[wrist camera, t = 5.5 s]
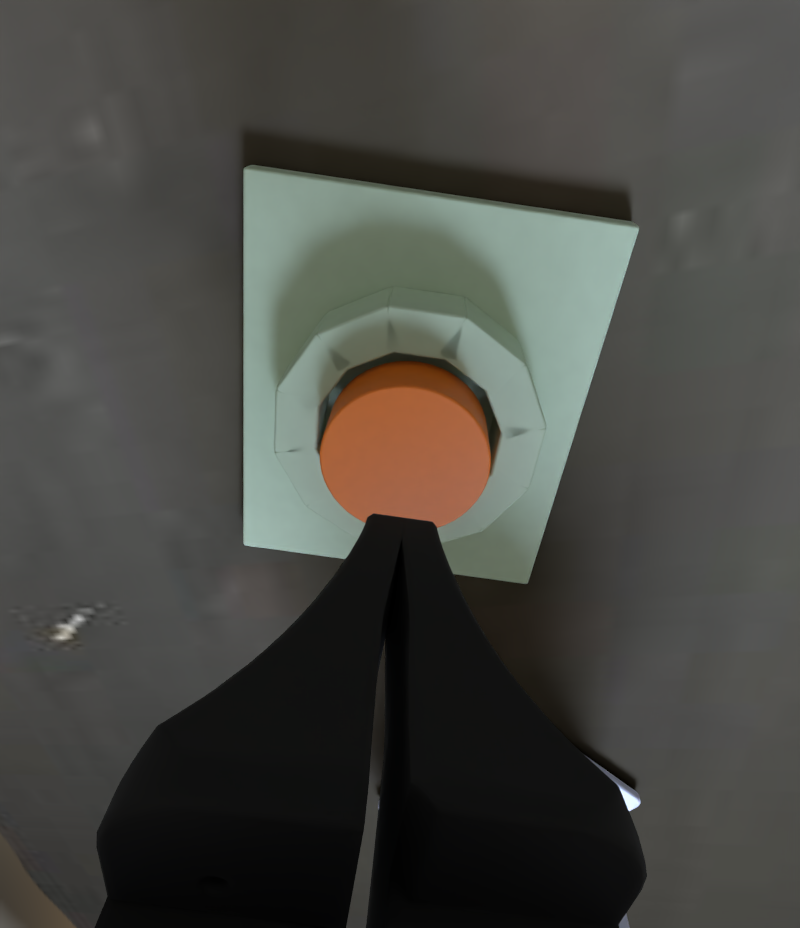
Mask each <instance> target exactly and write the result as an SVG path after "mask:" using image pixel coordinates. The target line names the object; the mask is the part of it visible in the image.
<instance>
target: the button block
mask: <svg viewBox="0 0 800 928" xmlns="http://www.w3.org/2000/svg"><path fill="white" fill-rule="evenodd" d="M638 231H639V226H637V225H636V224H635V223H633V222H632V221H625V220H619V219H612V218H605V217H599V216H592V215H585V214H579V213H572V212H565V211H559V210H552V209H545V208H539V207H532V206H525V205H519V204H512V203H505V202H499V201H492V200H485V199H478V198H472V197H465V196H458V195H452V194H445V193H438V192H432V191H425V190H418V189H412V188H405V187H398V186H392V185H385V184H378V183H372V182H365V181H358V180H352V179H345V178H338V177H332V176H325V175H318V174H312V173H305V172H298V171H291V170H285V169H278V168H271V167H265V166H258V165H249V166H247V167H244V169H243V544H244V545H246V546H254V547H261V548H268V549H275V550H283V551H290V552H297V553H304V554H312V555H319V556H326V557H333V558H341V559H346V558H347V556H348V555H349V553H350V552H351V550H352V548H353V547H354V545H355V543H356V541H357V540H358V538H359V536H360V534H361V532H362V530H363V528H364V526H365V523H364V522H362V521H361V520H359V519H357V518H355V517H354V516H353V515H351V514H350V513H348V512H347V511H346V510H345V509H344V508H343V507H342V506H341V505H340V504H339V503H338V502H337V501H336V500H335V498H334V497H333V496H332V494H331V492H330V491H329V489H328V487H327V485H326V483H325V481H324V478H323V475H322V472H321V466H320V446H321V441H322V437H323V434H324V431H325V428H326V425H327V422H328V419H329V416H330V414H331V411H332V408H333V405H334V403H335V401H336V399H337V397H338V396H339V394H340V393H341V391H342V390H343V389H344V388H345V387H346V385H347V384H348V383H349V382H350V381H352V380H353V379H354V378H355V377H357V376H358V375H360V374H361V373H363V372H364V371H366V370H368V369H371V368H373V367H375V366H378V365H381V364H385V363H389V362H395V361H417V362H423V363H428V364H431V365H434V366H437V367H440V368H442V369H444V370H446V371H448V372H450V373H452V374H453V375H455V376H456V377H458V378H459V379H460V380H462V381H463V382H464V383H465V384H466V385H467V386H468V387H469V388H470V389H471V390H472V392H473V393H474V394H475V396H476V397H477V399H478V400H479V402H480V404H481V406H482V409H483V411H484V414H485V418H486V423H487V430H488V437H489V445H490V452H491V469H490V475H489V478H488V481H487V484H486V486H485V488H484V490H483V492H482V494H481V496H480V497H479V499H478V500H477V501H476V503H475V504H474V505H473V506H472V507H471V508H470V509H469V510H468V511H467V512H466V513H464V514H463V515H462V516H460V517H459V518H457V519H456V520H454V521H452V522H450V523H448V524H446V525H444V526H441V527H439V528H437V530H438V534H439V538H440V541H441V544H442V547H443V550H444V553H445V555H446V558H447V560H448V563H449V565H450V568H451V570H452V572H453V574H457V575H464V576H471V577H478V578H486V579H493V580H500V581H507V582H514V583H522V584H527V583H528V581H529V578H530V575H531V572H532V569H533V565H534V562H535V559H536V556H537V553H538V549H539V546H540V543H541V540H542V537H543V534H544V530H545V527H546V524H547V521H548V518H549V514H550V511H551V508H552V505H553V502H554V499H555V495H556V492H557V489H558V486H559V483H560V479H561V476H562V473H563V470H564V467H565V464H566V460H567V457H568V454H569V451H570V448H571V444H572V441H573V438H574V435H575V432H576V429H577V425H578V422H579V419H580V416H581V413H582V409H583V406H584V403H585V400H586V397H587V394H588V390H589V387H590V384H591V381H592V378H593V374H594V371H595V368H596V365H597V362H598V359H599V355H600V352H601V349H602V346H603V343H604V339H605V336H606V333H607V330H608V327H609V324H610V320H611V317H612V314H613V311H614V308H615V304H616V301H617V298H618V295H619V292H620V289H621V285H622V282H623V279H624V276H625V273H626V269H627V266H628V263H629V260H630V257H631V254H632V250H633V247H634V244H635V241H636V238H637V234H638Z"/></svg>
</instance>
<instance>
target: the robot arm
mask: <svg viewBox="0 0 800 928" xmlns="http://www.w3.org/2000/svg"><path fill="white" fill-rule="evenodd" d="M385 636H386V642H385V742H384V760H383V770H382V780H381V790H380V800H379V803H378V809H379V810H378V820H377V829H376V839H375V849H374V859H373V868H372V877H371V887H370V896H369V905H368V915H367V924H366V928H629V923H628V919H627V914H626V913H627V911H628V910H629V908H630V907H631V905H632V904H633V902H634V901H635V899H636V898H637V896H638V894H639V893H640V891H641V890H642V887H643V885H644V882H645V880H646V877H647V873H646V865H645V860H644V856H643V852H642V848H641V844H640V841H639V837H638V834H637V831H636V829H635V826H634V823H633V821H632V818H631V816H630V813H629V811H630V810H632V809H634V808H636V807H638V806H639V805H640V803H641V802H640V797H639V794H638V793H637V792H636V791H635V790H634V789H632V788H631V787H629V786H628V785H626V784H625V783H624V782H622V781H621V780H619V779H618V778H617V777H615V776H614V775H612V774H611V773H609V772H608V771H607V770H605V769H604V768H602V767H601V766H600V765H598V764H597V763H595V762H594V761H592V760H591V759H590V758H588V757H587V756H585V755H584V754H583V753H582V752H581V751H579V750H578V749H577V748H576V747H575V746H574V745H573V744H572V743H571V742H570V741H569V740H568V739H567V738H566V737H565V736H564V735H563V734H562V733H561V732H560V731H559V730H558V729H557V728H556V727H555V726H554V724H553V723H552V722H551V721H550V720H549V719H548V718H547V717H546V716H545V714H544V713H543V712H542V711H541V710H540V709H539V707H538V706H537V705H536V704H535V703H534V701H533V700H532V699H531V698H530V697H529V696H528V694H527V693H526V692H525V691H524V690H523V688H522V687H521V686H520V685H519V684H518V682H517V681H516V679H515V678H514V677H513V675H512V674H511V673H510V671H509V670H508V669H507V667H506V666H505V665H504V663H503V662H502V660H501V659H500V657H499V656H498V654H497V653H496V651H495V650H494V648H493V647H492V645H491V644H490V642H489V641H488V639H487V638H486V636H485V634H484V633H483V631H482V629H481V628H480V626H479V624H478V622H477V620H476V619H475V617H474V615H473V613H472V612H471V610H470V608H469V606H468V604H467V602H466V600H465V598H464V596H463V594H462V592H461V590H460V588H459V586H458V583H457V581H456V579H455V577H454V575H453V572H452V570H451V568H450V565H449V563H448V560H447V558H446V555H445V553H444V550H443V547H442V544H441V541H440V538H439V534H438V530H437V527H436V525H435V524H434V523H433V522H432V521H425V520H417V519H410V518H403V517H396V516H389V515H382V514H375V513H373V514H372V515H370V516H368V517H367V520H366V523H365V526H364V528H363V530H362V532H361V534H360V536H359V538H358V540H357V541H356V543H355V545H354V547H353V548H352V550H351V552H350V553H349V555H348V556H347V558H346V559H345V561H344V562H343V563H342V565H341V566H340V568H339V569H338V571H337V572H336V574H335V575H334V576H333V578H332V579H331V580H330V581H329V583H328V584H327V585H326V586H325V588H324V589H323V590H322V591H321V593H320V594H319V595H318V596H317V598H316V599H315V600H314V601H313V602H312V604H311V605H310V606H309V607H308V608H307V609H306V610H305V611H304V613H303V614H302V615H301V616H300V617H299V618H298V619H297V620H296V621H295V622H294V623H293V624H292V625H291V626H290V627H289V628H288V629H287V630H286V631H285V632H284V633H283V634H282V635H281V636H280V637H279V638H278V639H276V640H275V641H274V642H273V643H272V644H271V645H270V646H269V647H268V648H267V649H266V650H264V651H263V652H262V653H261V654H260V655H259V656H257V657H256V658H255V659H254V660H253V661H252V662H250V663H249V664H248V665H247V666H245V667H244V668H243V669H241V670H240V671H239V672H237V673H236V674H235V675H233V676H232V677H231V678H229V679H228V680H227V681H225V682H224V683H223V684H221V685H220V686H219V687H217V688H216V689H215V690H213V691H212V692H210V693H209V694H207V695H206V696H205V697H203V698H201V699H200V700H198V701H197V702H195V703H193V704H192V705H190V706H189V707H187V708H186V709H184V710H182V711H181V712H179V713H178V714H176V715H174V716H173V717H171V718H170V719H168V720H166V721H165V722H163V723H161V724H160V725H158V726H157V727H156V729H155V730H154V731H153V733H152V734H151V735H150V737H149V738H148V740H147V741H146V742H145V744H144V745H143V747H142V748H141V749H140V751H139V753H138V754H137V756H136V757H135V759H134V760H133V762H132V763H131V765H130V767H129V768H128V770H127V772H126V773H125V775H124V777H123V778H122V780H121V782H120V784H119V786H118V788H117V790H116V792H115V794H114V796H113V798H112V800H111V803H110V805H109V807H108V809H107V811H106V814H105V816H104V818H103V820H102V822H101V824H100V827H99V829H98V831H97V851H98V855H99V860H100V864H101V869H102V873H103V878H104V882H105V887H106V891H107V895H108V897H107V899H106V902H105V904H104V907H103V909H102V911H101V914H100V916H99V919H98V921H97V923H96V926H95V928H346V924H347V918H348V913H349V907H350V902H351V896H352V891H353V885H354V880H355V874H356V869H357V864H358V858H359V853H360V847H361V842H362V836H363V830H364V823H365V814H366V804H367V795H368V785H369V771H370V757H371V744H372V731H373V718H374V707H375V695H376V683H377V673H378V669H379V664H380V660H381V655H382V650H383V646H384V641H385Z"/></svg>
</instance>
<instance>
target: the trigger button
mask: <svg viewBox="0 0 800 928" xmlns="http://www.w3.org/2000/svg"><path fill="white" fill-rule="evenodd" d="M320 466H321V472H322V475H323V478H324V481H325V483H326V485H327V487H328V489H329V491H330V492H331V494H332V496H333V497H334V498H335V500H336V501H337V502H338V503H339V504H340V505H341V506H342V507H343V508H344V509H345V510H346V511H347V512H348V513H350V514H351V515H353V516H354V517H355V518H357V519H359V520H361V521H362V522H364V523H366V520H367V517H368V516H370V515H372V514H373V513H375V514H382V515H389V516H396V517H403V518H410V519H417V520H425V521H432V522H433V523H434V524H435V525H436V527H437V528H439V527H441V526H444V525H446V524H448V523H450V522H452V521H454V520H456V519H457V518H459V517H460V516H462V515H463V514H464V513H466V512H467V511H468V510H469V509H470V508H471V507H472V506H473V505H474V504H475V503H476V501H477V500H478V499H479V497H480V496H481V494H482V492H483V490H484V488H485V486H486V484H487V481H488V478H489V475H490V469H491V452H490V445H489V437H488V430H487V423H486V418H485V414H484V411H483V409H482V406H481V404H480V402H479V400H478V399H477V397H476V396H475V394H474V393H473V392H472V390H471V389H470V388H469V387H468V386H467V385H466V384H465V383H464V382H463V381H462V380H460V379H459V378H458V377H456V376H455V375H453V374H452V373H450V372H448V371H446V370H444V369H442V368H440V367H437V366H434V365H431V364H428V363H423V362H417V361H395V362H389V363H385V364H381V365H378V366H375V367H373V368H371V369H368V370H366V371H364V372H363V373H361V374H360V375H358V376H357V377H355V378H354V379H353V380H352V381H350V382H349V383H348V384H347V385H346V387H345V388H344V389H343V390H342V391H341V393H340V394H339V396H338V397H337V399H336V401H335V403H334V405H333V408H332V411H331V414H330V416H329V419H328V422H327V425H326V428H325V431H324V434H323V437H322V441H321V446H320Z"/></svg>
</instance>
